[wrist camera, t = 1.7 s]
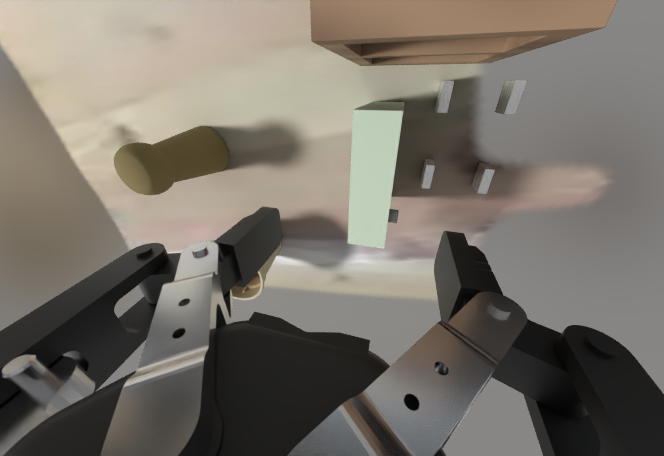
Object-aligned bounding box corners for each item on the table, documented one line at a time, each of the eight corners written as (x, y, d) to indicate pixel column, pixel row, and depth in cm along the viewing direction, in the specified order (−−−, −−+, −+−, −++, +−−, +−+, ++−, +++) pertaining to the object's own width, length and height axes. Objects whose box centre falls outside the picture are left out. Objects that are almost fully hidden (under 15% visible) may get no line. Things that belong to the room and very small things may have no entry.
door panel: (373, 101, 24) (353, 109, 15) (413, 102, 23) (417, 111, 14) (366, 194, 29) (347, 243, 20) (398, 197, 28) (394, 250, 19)
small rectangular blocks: (440, 81, 21) (443, 80, 19) (515, 80, 20) (527, 80, 18) (420, 180, 26) (421, 188, 24) (480, 185, 25) (486, 194, 23)
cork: (234, 145, 30) (160, 169, 21) (222, 180, 34) (153, 214, 24) (194, 115, 30) (100, 127, 20) (185, 154, 33) (101, 179, 24)
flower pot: (235, 247, 40) (197, 282, 33) (238, 200, 35) (194, 230, 27) (285, 269, 39) (258, 310, 32) (296, 225, 34) (267, 261, 27)
